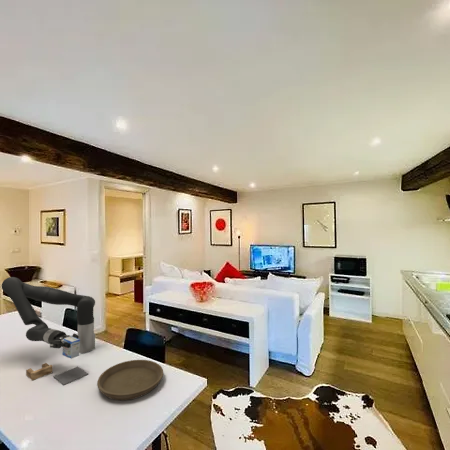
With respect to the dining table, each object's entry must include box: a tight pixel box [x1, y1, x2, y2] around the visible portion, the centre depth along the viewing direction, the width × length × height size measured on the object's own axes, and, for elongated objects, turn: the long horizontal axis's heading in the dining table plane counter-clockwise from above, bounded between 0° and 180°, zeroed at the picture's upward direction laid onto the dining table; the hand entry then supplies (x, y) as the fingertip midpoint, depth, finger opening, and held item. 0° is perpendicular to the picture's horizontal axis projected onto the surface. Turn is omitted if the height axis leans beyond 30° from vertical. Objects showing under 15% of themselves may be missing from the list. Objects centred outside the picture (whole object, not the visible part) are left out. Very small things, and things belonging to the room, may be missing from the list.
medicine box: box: [62, 335, 80, 360], centre depth 136 cm, size 8×4×9 cm, turn 62°
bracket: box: [25, 362, 54, 381], centre depth 138 cm, size 9×9×4 cm
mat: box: [53, 365, 89, 386], centre depth 136 cm, size 12×12×1 cm
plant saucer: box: [96, 359, 164, 401], centre depth 130 cm, size 31×31×5 cm
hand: (74, 343), depth 135 cm, fingers closed on medicine box, 4 cm apart
